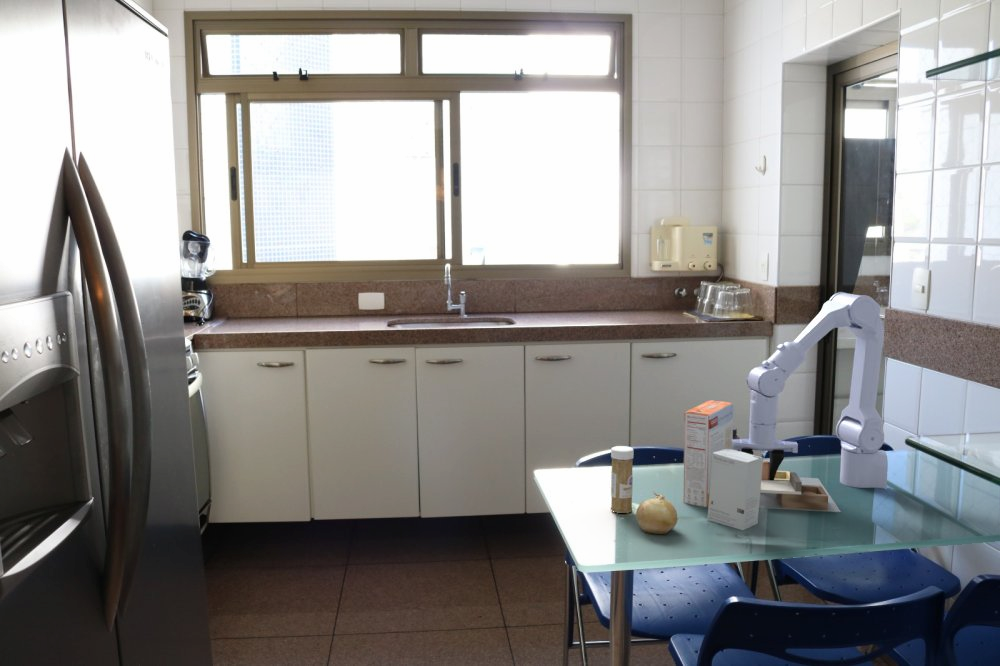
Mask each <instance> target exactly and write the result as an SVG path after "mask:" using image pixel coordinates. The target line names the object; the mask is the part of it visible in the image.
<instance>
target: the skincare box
mask: <svg viewBox="0 0 1000 666" xmlns="http://www.w3.org/2000/svg"><path fill="white" fill-rule="evenodd" d="M763 460H764V457H761V456H759V455H758V456H757V455H755V454H754V455H751V454H748V453H745V452H741V450H740V451H736V450H731V449H724V450H721V451H717V452H714V453H713V457H712V469H711V481H710V494H709V506H708V508H707V509H708V510H707V520H706V521H707V525H708V526H709V521H711V522H713V523H717V524H720V525H724V526H728V527H731V528H734V529H737V530H740V531H744V530H746V529H749V528H751V527H754V526H755V525H757V524H759V523H758V521H759V513H760V512H759V511H760V508H759V501H760V490H761V478H762V466H763Z"/></svg>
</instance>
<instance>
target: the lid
mask: <svg viewBox="0 0 1000 666" xmlns="http://www.w3.org/2000/svg"><path fill="white" fill-rule="evenodd" d="M789 472H790V471H789ZM801 487H802V482H801V480H800V479H799V476H798V474H797V472H795V471H794V472H790V481H769V480H761V490H760V492H761V493H779V494H800V495H801Z"/></svg>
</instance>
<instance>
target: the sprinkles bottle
mask: <svg viewBox="0 0 1000 666" xmlns="http://www.w3.org/2000/svg"><path fill="white" fill-rule="evenodd" d="M610 453H611V454H610V457H611V476H610V477H611V478H610V479H611V481H610V482H611V484H610V492H611V493H610V496H611V500H610V501H611V504H610V505H611V507H610V511H611V510H612V511H614V512H617V513H616V514H618V513H627V514H630V513H629V512H631V511H632V512H633V487H634V486H633V481H634V480H633V479H634V478H633V460H634V449H633V447H630V446H626V445H616V446H613V447H611V452H610ZM612 511H611V512H612ZM614 512H613V513H614ZM632 512H631V513H632Z"/></svg>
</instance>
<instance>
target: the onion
mask: <svg viewBox="0 0 1000 666" xmlns="http://www.w3.org/2000/svg"><path fill="white" fill-rule="evenodd" d="M653 494H654V495H655V497H653V498H652V497H651V498H648V499H645V500H644V501H642V502H641V503H640V504H639V505H638V507H637V508H636V512H635V517H636V521H637V523H638V525H639V526H640V528H641V530H642V531H643V532H644V533H647V534H653V535H665V534H668V533H669V532H670V531H672V530H673V529H674V528H675V527H676V525H677V524H678V512H677V510H676V508H675V506H674V505H673V504H672V502H671V501H669V500H668V499H667V498H665V496H664V495H663V494H661V493H659V494H657V493H656V492H655V491H653Z"/></svg>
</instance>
